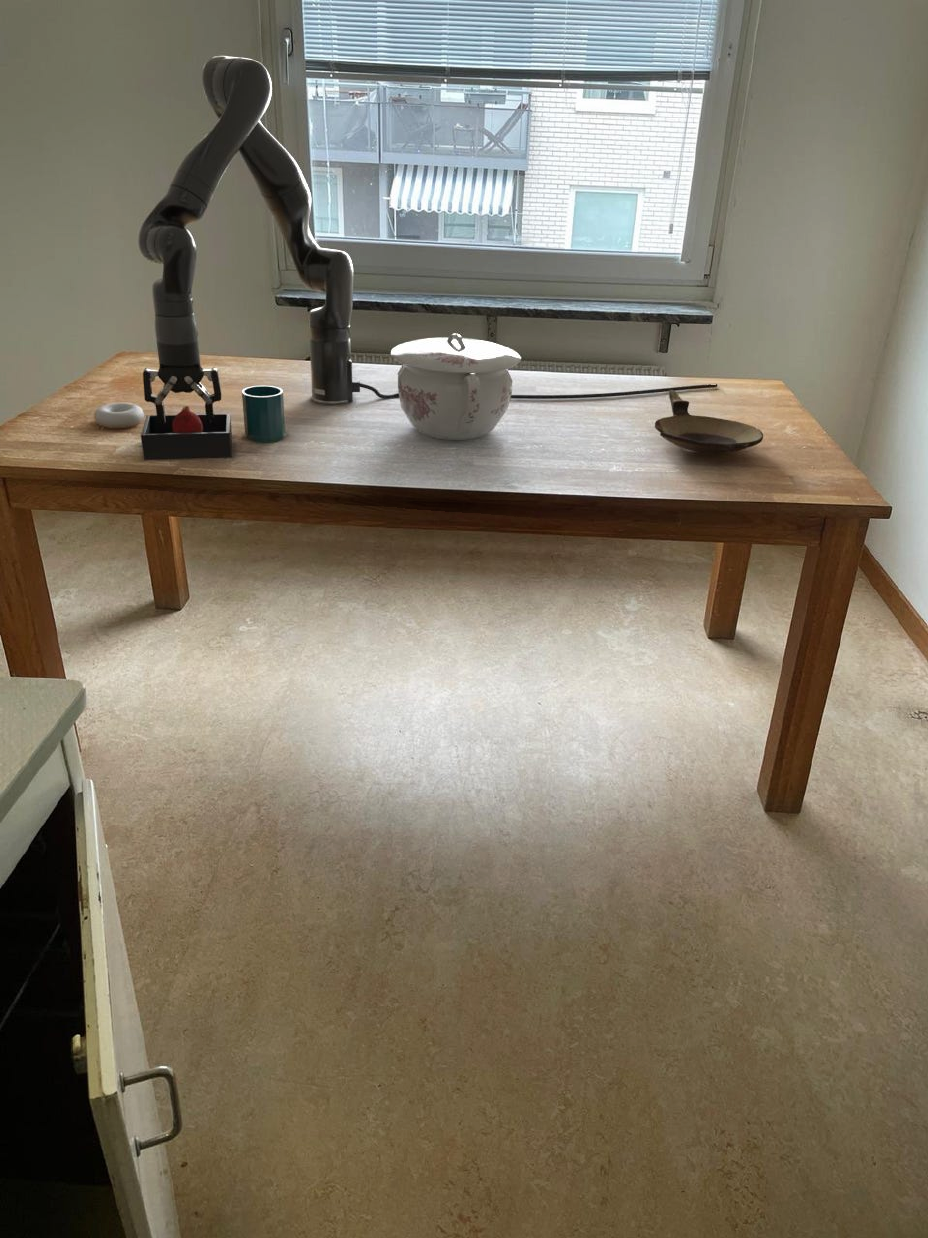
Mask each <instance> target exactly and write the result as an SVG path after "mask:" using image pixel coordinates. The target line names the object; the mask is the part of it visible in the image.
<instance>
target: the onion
mask: <svg viewBox="0 0 928 1238" xmlns="http://www.w3.org/2000/svg"><path fill="white" fill-rule="evenodd" d="M196 414H197V413H195V412H193V411H191V410H190V407H189V406H188V405H184V406H182V409H181V410H180V412H178V413H177V414H175V415H176V416H175V418H174V420H173V423H172V430H173V433H202V432H203V426H202V422H201V420H200V418H199V417H198V416H197V415H196Z"/></svg>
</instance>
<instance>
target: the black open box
mask: <svg viewBox="0 0 928 1238" xmlns="http://www.w3.org/2000/svg"><path fill="white" fill-rule="evenodd" d="M195 414H196V415H197V416H198V417H199V418H200V420H201V422H202V426H203V432H202V433H173V430H172V423H173V420H174V418H175V416H176V415H177V414H165V418H166V422H165V424H161V421H158V419H157V414H146V415H145V419H144V422H143V426H142V429H141V433H140V440H141V447H142V454H143V460H144V461H160V460H165V461H166V460H189V459H190V460H191V459H192V460H193V459H224V458H225V459H226V458H227V459H228V458H232V457H233V432H232V417H231V413H213V414H214V417H213V420H210V423H207V422H206V413H195Z"/></svg>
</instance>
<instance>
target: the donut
mask: <svg viewBox="0 0 928 1238" xmlns="http://www.w3.org/2000/svg"><path fill="white" fill-rule="evenodd" d="M144 418H145V413H144V411H143V409H142V407H140V406H139V405H137V404H134V403H130V402H111V403H107V404H104V405H101V406H99V407H97V409H95V411H94V413H93V419H94V420H95V422H96V424H98V425H99V426H101V427H104V428H108V429H126V428H131V427H135V426H137V425H138V424H141V423H142V422H143V420H144Z"/></svg>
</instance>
